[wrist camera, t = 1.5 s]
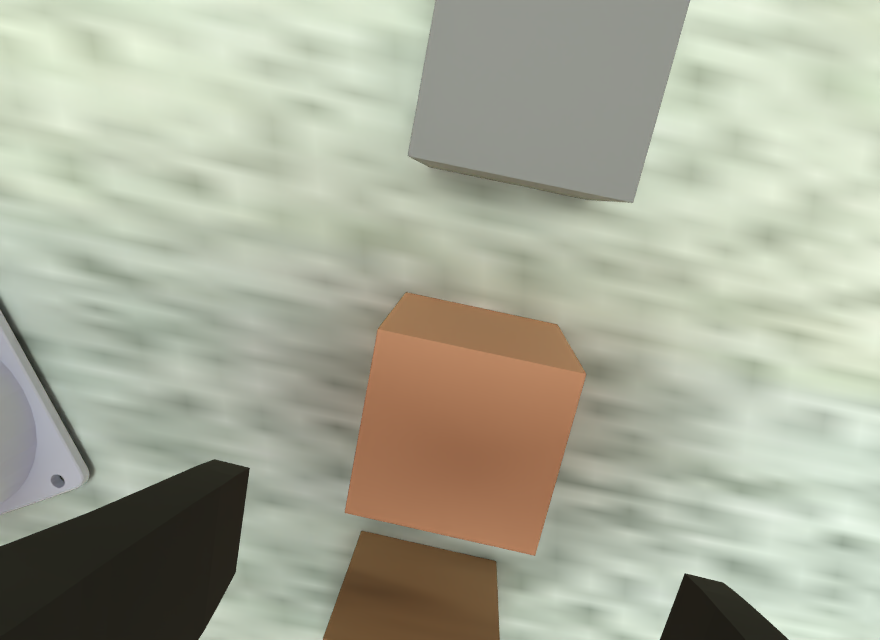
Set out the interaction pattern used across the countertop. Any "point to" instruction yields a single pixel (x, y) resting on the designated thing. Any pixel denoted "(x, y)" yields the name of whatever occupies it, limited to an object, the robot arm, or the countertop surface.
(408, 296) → the terracotta block
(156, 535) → the robot arm
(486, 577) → the walnut block
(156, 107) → the countertop surface
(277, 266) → the countertop surface
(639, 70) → the slate block
